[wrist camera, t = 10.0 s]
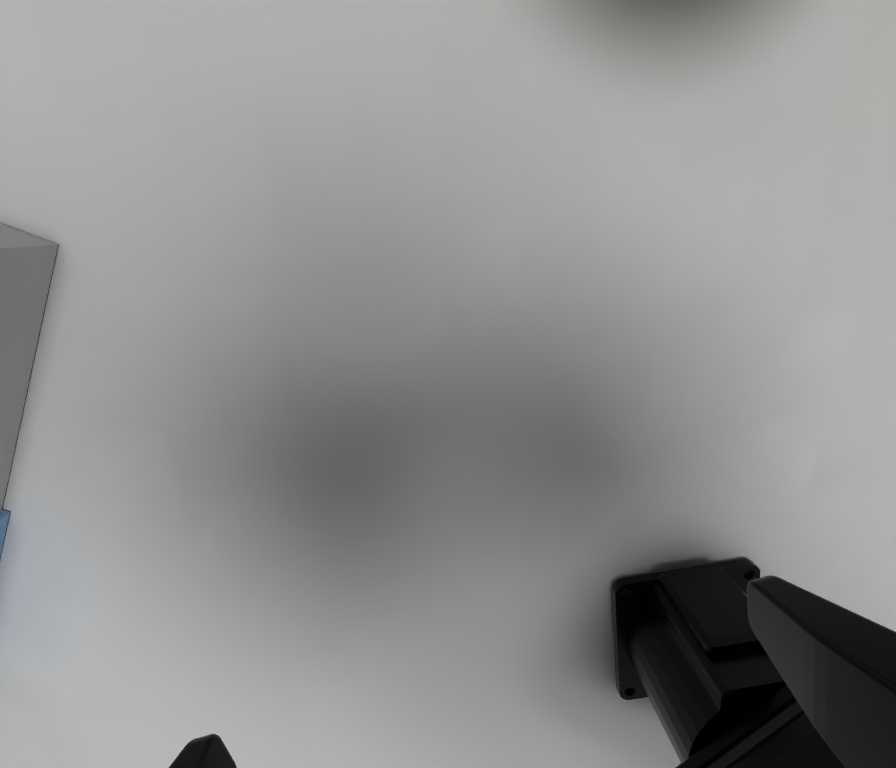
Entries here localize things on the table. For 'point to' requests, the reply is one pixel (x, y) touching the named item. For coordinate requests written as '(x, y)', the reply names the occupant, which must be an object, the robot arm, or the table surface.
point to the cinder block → (18, 333)
